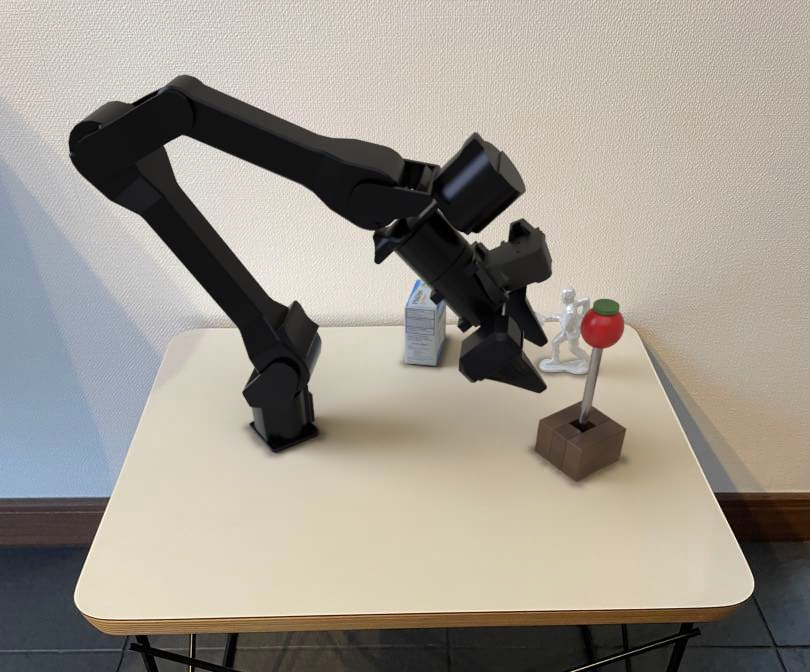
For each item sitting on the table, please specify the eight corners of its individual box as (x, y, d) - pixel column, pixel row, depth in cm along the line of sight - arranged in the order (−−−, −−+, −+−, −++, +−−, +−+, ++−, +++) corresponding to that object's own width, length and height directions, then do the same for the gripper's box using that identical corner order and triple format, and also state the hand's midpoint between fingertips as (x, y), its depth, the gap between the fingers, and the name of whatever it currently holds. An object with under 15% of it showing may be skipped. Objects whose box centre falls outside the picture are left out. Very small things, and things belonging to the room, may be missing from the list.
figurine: (596, 376, 102) (613, 292, 94) (528, 380, 101) (539, 296, 93) (586, 357, 105) (602, 274, 97) (520, 361, 105) (530, 278, 96)
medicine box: (436, 367, 104) (438, 308, 97) (404, 364, 104) (403, 305, 98) (445, 338, 109) (448, 280, 103) (415, 334, 110) (415, 277, 104)
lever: (576, 471, 88) (606, 320, 74) (550, 452, 91) (575, 302, 77) (603, 458, 90) (638, 307, 76) (577, 439, 92) (606, 290, 79)
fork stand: (575, 482, 87) (582, 451, 84) (534, 450, 91) (539, 419, 88) (619, 459, 90) (627, 428, 86) (577, 430, 94) (583, 399, 90)
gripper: (503, 250, 65) (611, 372, 71) (512, 170, 78) (603, 279, 84) (411, 328, 71) (518, 433, 78) (434, 242, 84) (524, 338, 91)
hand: (544, 366), depth 82 cm, fingers open, 9 cm apart
